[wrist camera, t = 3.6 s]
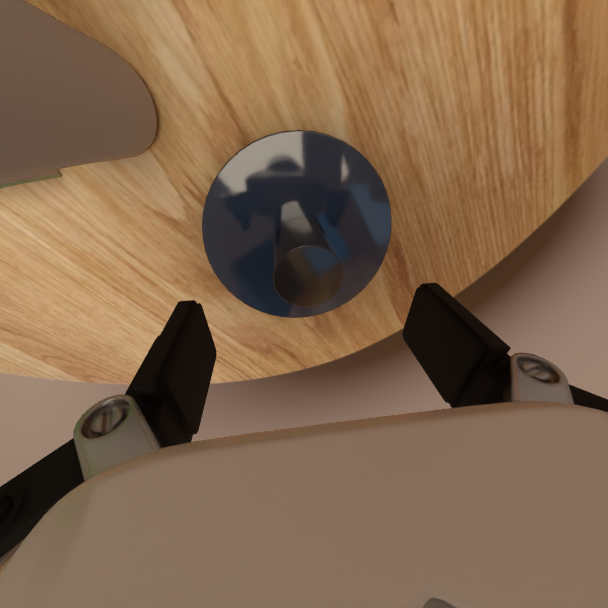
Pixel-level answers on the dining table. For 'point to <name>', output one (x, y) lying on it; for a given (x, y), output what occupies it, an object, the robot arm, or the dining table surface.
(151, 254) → the dining table surface
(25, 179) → the flat green box
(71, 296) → the dining table surface
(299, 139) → the lid
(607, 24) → the dining table surface
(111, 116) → the beverage can
